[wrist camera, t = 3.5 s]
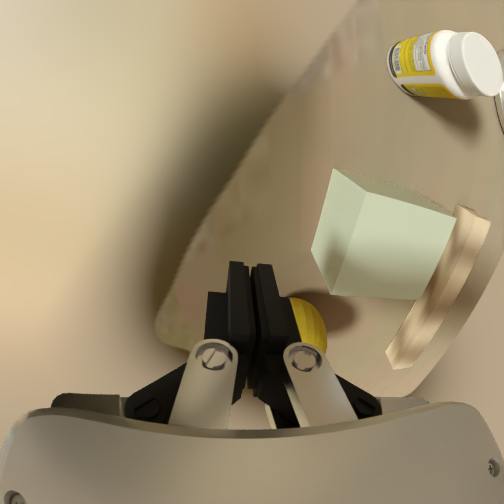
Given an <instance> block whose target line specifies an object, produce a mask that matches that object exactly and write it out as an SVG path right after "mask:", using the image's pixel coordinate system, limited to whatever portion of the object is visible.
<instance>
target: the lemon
mask: <svg viewBox="0 0 504 504" xmlns="http://www.w3.org/2000/svg"><path fill="white" fill-rule="evenodd" d="M289 299H290V301H291V305H292V308H293V311H294V315H295V318H296V322H297V325H298V329H299V332H300V336H301V339H302V342H305V343H309V344H312V345H314V346H316V347H318V348H319V349H320V350H321V351H322V352H323V353H324V355H325V353H326V349H327V332H326V327H325V324H324V321H323V319H322V317H321V315H320V313H319V312H318V311H317V309H316V308H315V307H314V306H313V305H312V304H310V303H309V302H307V301H305V300H303V299H299V298H290V297H289Z"/></svg>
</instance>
